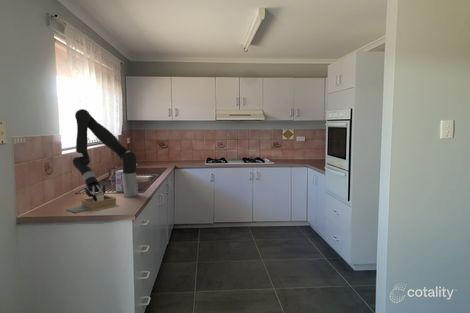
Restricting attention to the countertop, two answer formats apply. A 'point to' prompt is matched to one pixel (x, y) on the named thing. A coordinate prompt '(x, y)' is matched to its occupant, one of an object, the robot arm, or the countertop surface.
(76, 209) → the slate mat
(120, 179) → the candy box
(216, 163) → the countertop surface
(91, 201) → the carton
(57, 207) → the countertop surface
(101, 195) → the tea box
